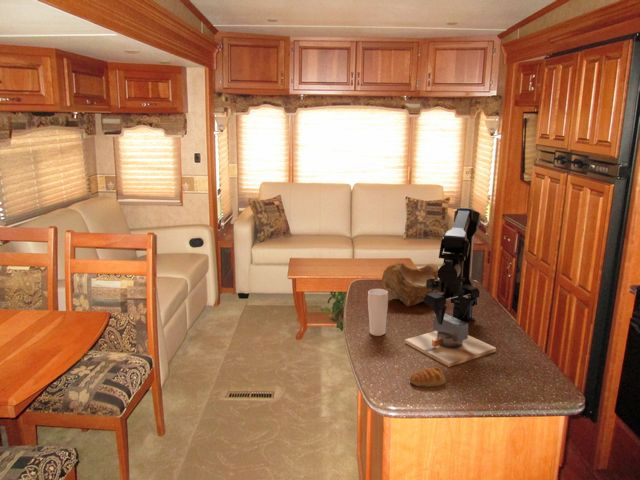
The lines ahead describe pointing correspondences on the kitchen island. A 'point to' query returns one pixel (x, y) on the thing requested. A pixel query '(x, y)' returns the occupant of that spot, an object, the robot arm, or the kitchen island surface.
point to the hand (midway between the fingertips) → (450, 321)
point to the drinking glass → (377, 311)
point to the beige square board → (450, 349)
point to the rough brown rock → (409, 282)
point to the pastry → (428, 377)
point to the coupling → (450, 332)
